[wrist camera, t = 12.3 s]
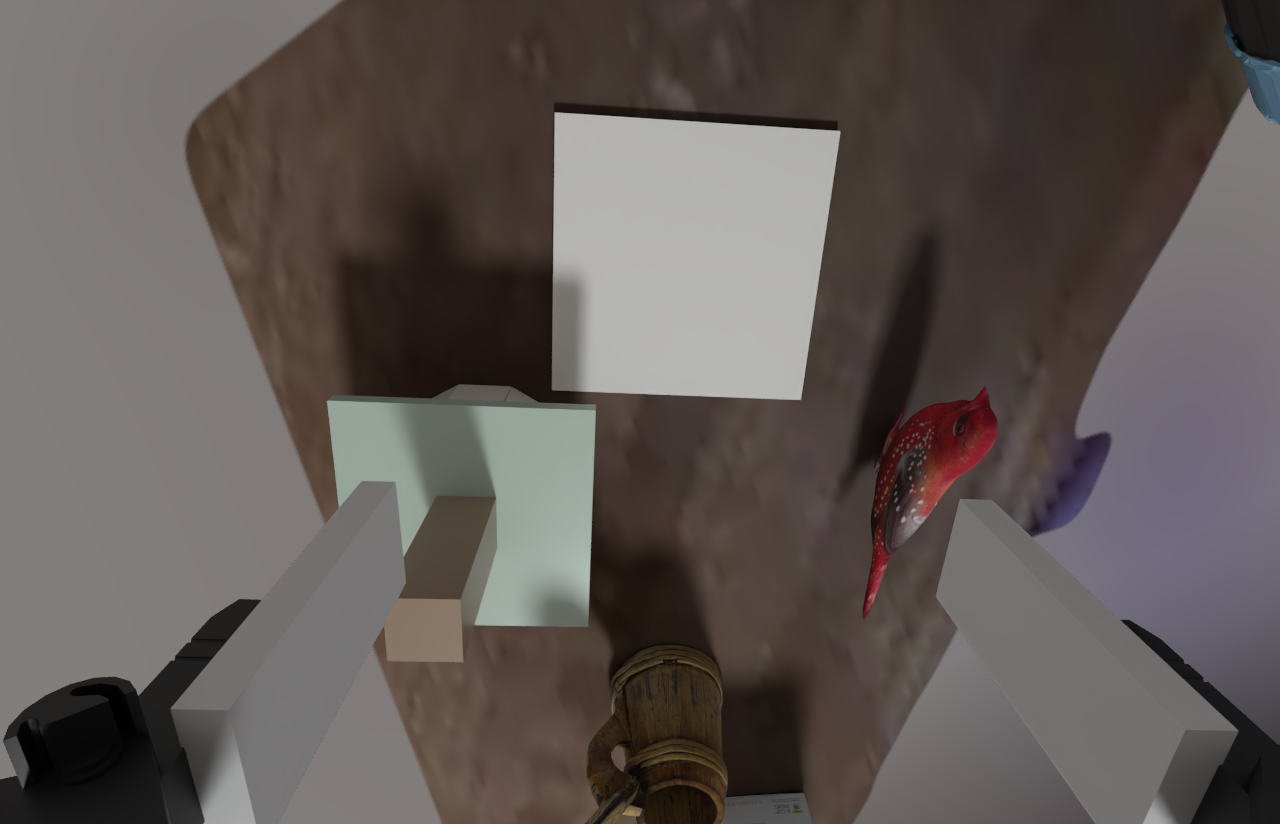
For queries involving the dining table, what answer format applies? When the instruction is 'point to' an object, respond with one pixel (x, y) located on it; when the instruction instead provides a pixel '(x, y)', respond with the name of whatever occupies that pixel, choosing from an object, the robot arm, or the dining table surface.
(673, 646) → the wooden mug
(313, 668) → the robot arm
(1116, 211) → the dining table surface
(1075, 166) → the dining table surface
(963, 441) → the decorative bird figurine
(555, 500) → the lid
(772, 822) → the tea box
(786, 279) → the mat
